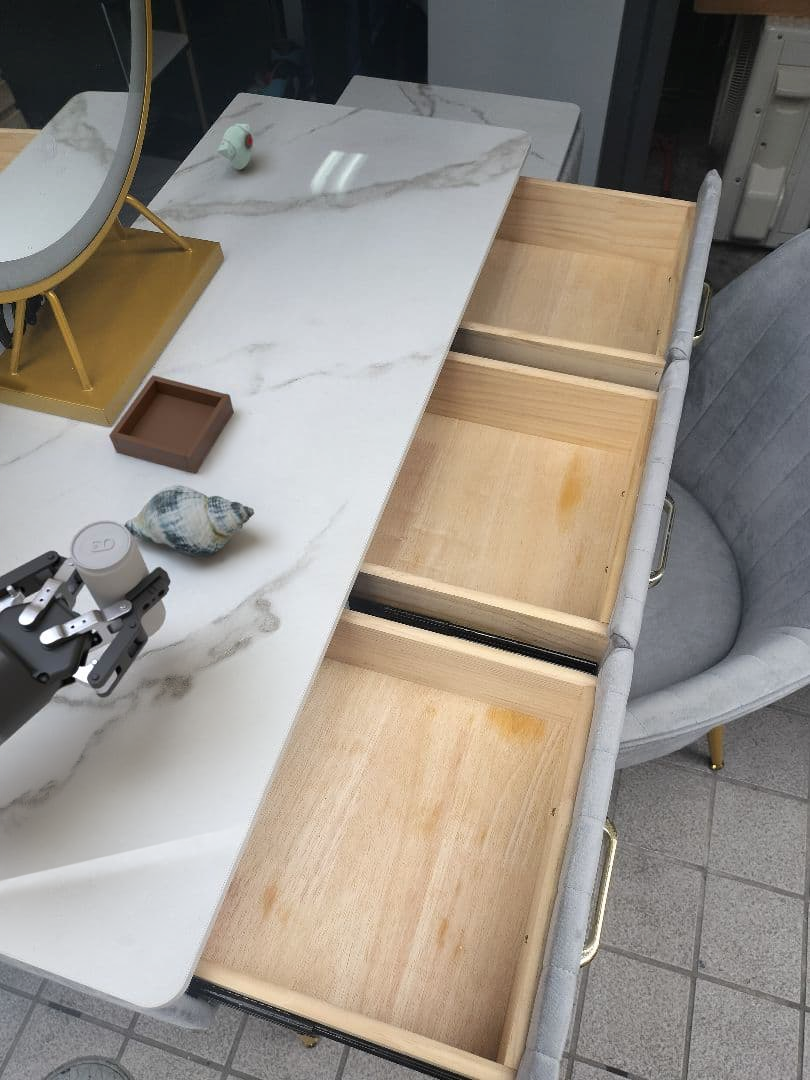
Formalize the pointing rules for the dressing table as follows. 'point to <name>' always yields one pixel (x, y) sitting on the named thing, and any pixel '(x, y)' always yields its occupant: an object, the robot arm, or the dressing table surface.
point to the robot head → (237, 145)
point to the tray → (172, 424)
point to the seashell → (189, 520)
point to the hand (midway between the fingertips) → (142, 557)
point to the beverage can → (112, 567)
